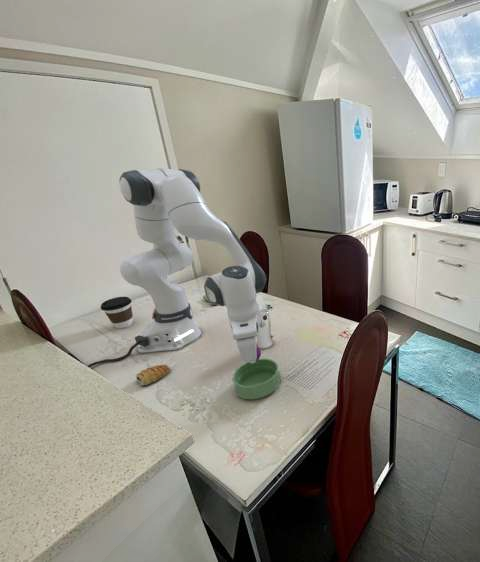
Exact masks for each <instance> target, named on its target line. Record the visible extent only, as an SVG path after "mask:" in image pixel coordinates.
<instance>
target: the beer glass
mask: <svg viewBox="0 0 480 562" xmlns="http://www.w3.org/2000/svg"><path fill="white" fill-rule="evenodd" d="M259 311H260V316H261V323H260V325H259V327H258V333H257V336H256V347H258V348H259V349H268V348H270V347H271V346H273V344H274V341H273V338H272V320H271V315H270V312H269V309H268V308H266V307H259Z"/></svg>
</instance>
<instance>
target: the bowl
mask: <svg viewBox="0 0 480 562" xmlns="http://www.w3.org/2000/svg"><path fill="white" fill-rule="evenodd" d="M280 374H281V373H280V369H279V364H278V363H277V362H276V361H275V360H273V359H271V358H259V359H258V360H257V361H256V362H255V363H250V362H244V363H243V364H241V365H240V366H239V367H238V368H237V369H236V370H235V371H234V373H233V375H232V381H233V382H232V383H233V386H234V391H235V394H236V395H237V396H238V397H240V398H241V399H244V400H258V399H262V398H265V397H266V396H269V395H270V394H272V393H273V392H274V391H276V390H277V388H278V387H279V386H280V382H281V375H280Z"/></svg>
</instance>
